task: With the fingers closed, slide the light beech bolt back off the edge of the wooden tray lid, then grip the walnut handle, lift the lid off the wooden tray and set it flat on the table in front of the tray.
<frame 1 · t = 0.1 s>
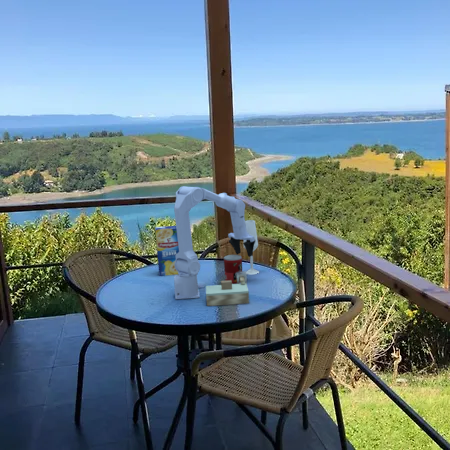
hand: (244, 254, 225), 11 cm above the table, tool pointing down, fingers open, 7 cm apart
bolt: (242, 279, 203), point 6 cm above the table, slide at 0.0 cm
bolt keeper: (242, 291, 208), on the table
wooden tray: (227, 300, 198), on the table
beverage box: (170, 273, 241), on the table
lid: (226, 290, 197), point 4 cm above the table, touching wooden tray
canned food: (234, 281, 223), on the table
champagne flute: (252, 272, 235), on the table
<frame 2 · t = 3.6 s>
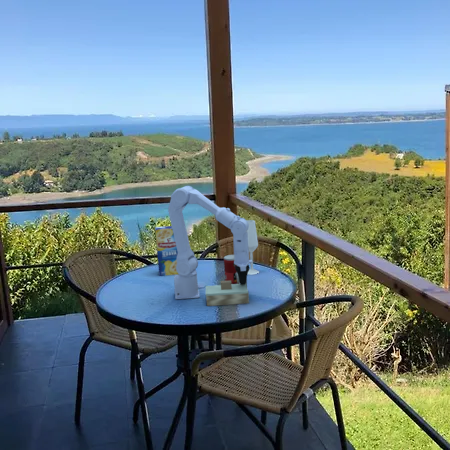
hand: (242, 284, 199), 5 cm above the table, tool pointing down, fingers closed
bolt: (242, 279, 204), point 6 cm above the table, slide at 0.4 cm, touching gripper
everything else where it was.
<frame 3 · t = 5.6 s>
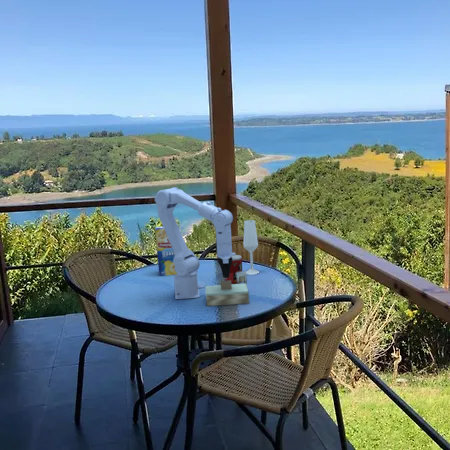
hand: (226, 277, 196), 9 cm above the table, tool pointing down, fingers closed
bolt: (241, 277, 207), point 6 cm above the table, slide at 3.5 cm
everything else where it was.
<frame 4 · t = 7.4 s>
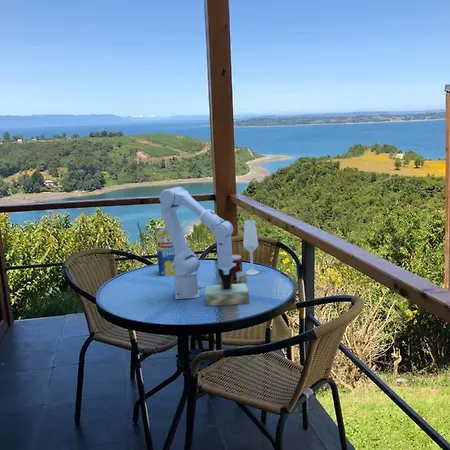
hand: (226, 287, 197), 5 cm above the table, tool pointing down, fingers closed on lid, 2 cm apart
lid: (226, 290, 197), point 4 cm above the table, touching gripper, wooden tray
everything else where it was.
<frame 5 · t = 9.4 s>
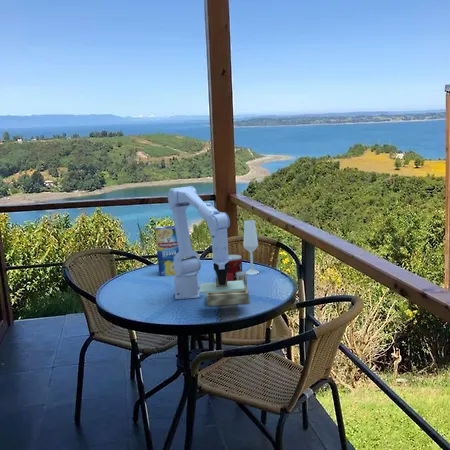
hand: (222, 283, 185), 10 cm above the table, tool pointing down, fingers closed on lid, 2 cm apart
lid: (221, 287, 185), point 9 cm above the table, touching gripper
everything else where it was.
when the fingers open (3 cm above the table, at t = 11.2 s): lid drops 1 cm, on the table.
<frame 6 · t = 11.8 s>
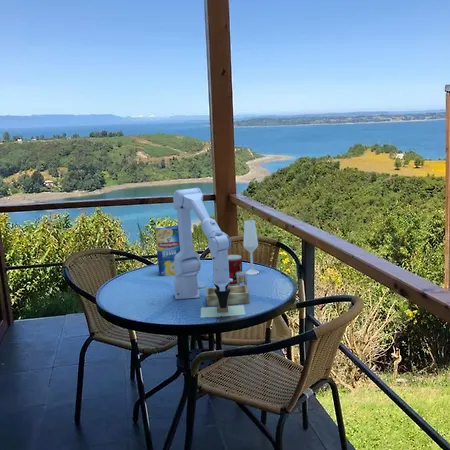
hand: (223, 304, 185), 3 cm above the table, tool pointing down, fingers open, 7 cm apart
lid: (222, 313, 186), on the table
everything else where it was.
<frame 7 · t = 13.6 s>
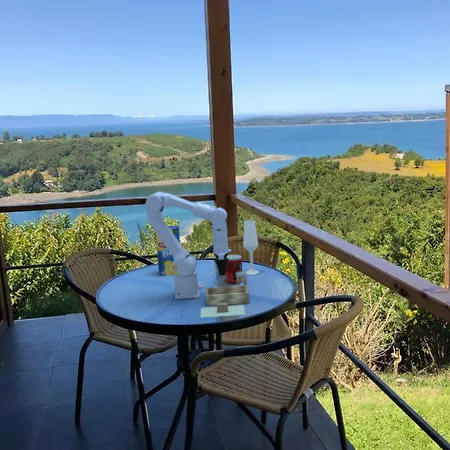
hand: (222, 272, 203), 9 cm above the table, tool pointing down, fingers open, 7 cm apart
nothing on the table moved.
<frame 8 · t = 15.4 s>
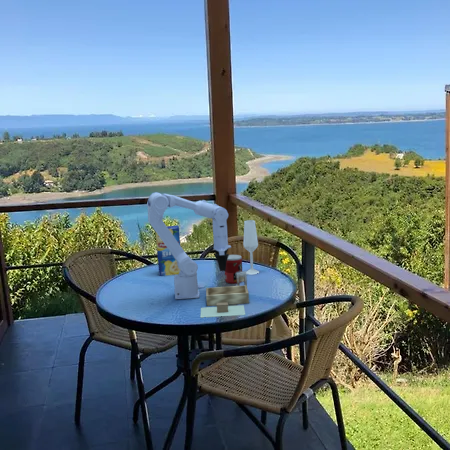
hand: (222, 268, 209), 9 cm above the table, tool pointing down, fingers open, 7 cm apart
nothing on the table moved.
at the end: bolt slide at 3.5 cm; lid inside the target area (0.3 cm from its centre), on the table; lid tilted 0° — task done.
